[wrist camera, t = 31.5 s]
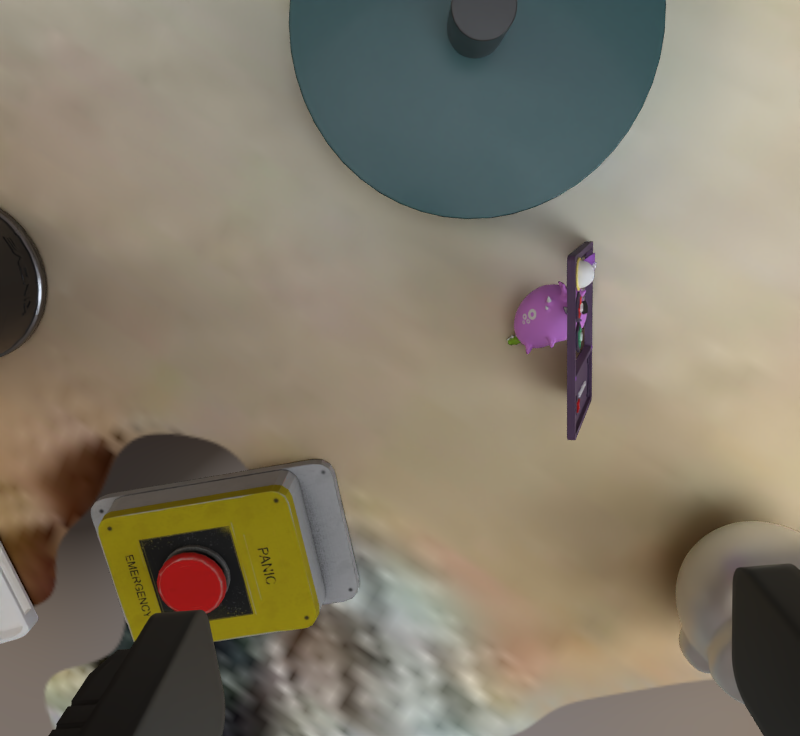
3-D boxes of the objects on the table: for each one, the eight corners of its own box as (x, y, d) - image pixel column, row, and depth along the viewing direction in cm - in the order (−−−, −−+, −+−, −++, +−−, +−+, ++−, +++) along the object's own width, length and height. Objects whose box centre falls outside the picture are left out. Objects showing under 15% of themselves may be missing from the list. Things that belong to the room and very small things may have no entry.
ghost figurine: (620, 541, 44) (677, 646, 34) (767, 469, 42) (871, 558, 32) (683, 653, 45) (754, 783, 36) (826, 588, 44) (940, 705, 34)
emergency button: (55, 531, 39) (321, 487, 38) (90, 496, 44) (331, 456, 43) (104, 673, 42) (356, 636, 41) (133, 627, 46) (362, 592, 45)
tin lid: (319, 234, 36) (301, 245, 31) (267, -152, 32) (235, -219, 26) (660, 198, 35) (704, 202, 30) (655, -206, 31) (705, -285, 26)
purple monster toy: (590, 442, 35) (592, 256, 32) (485, 435, 37) (480, 257, 34) (605, 400, 41) (607, 240, 38) (514, 395, 43) (511, 242, 40)
